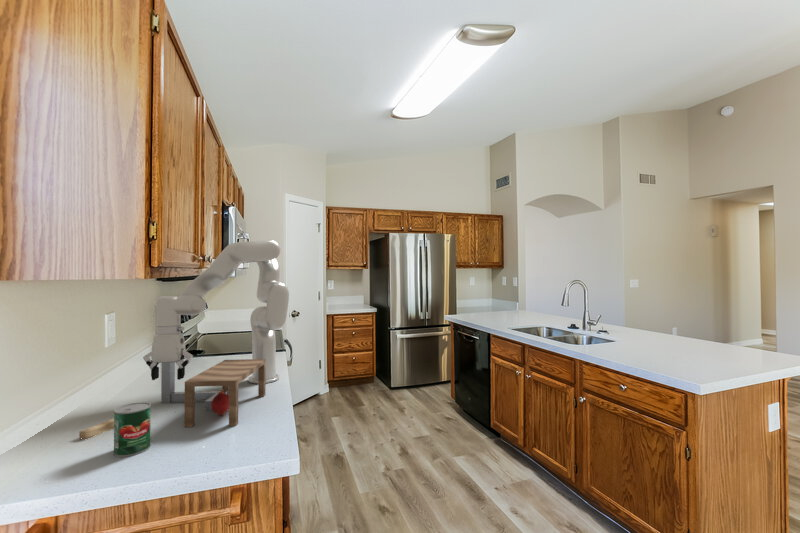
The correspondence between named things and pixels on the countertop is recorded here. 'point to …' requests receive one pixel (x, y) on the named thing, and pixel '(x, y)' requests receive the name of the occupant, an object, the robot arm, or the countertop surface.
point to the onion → (220, 403)
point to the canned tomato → (132, 429)
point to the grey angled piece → (172, 396)
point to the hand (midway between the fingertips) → (168, 378)
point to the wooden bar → (97, 429)
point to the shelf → (224, 384)
